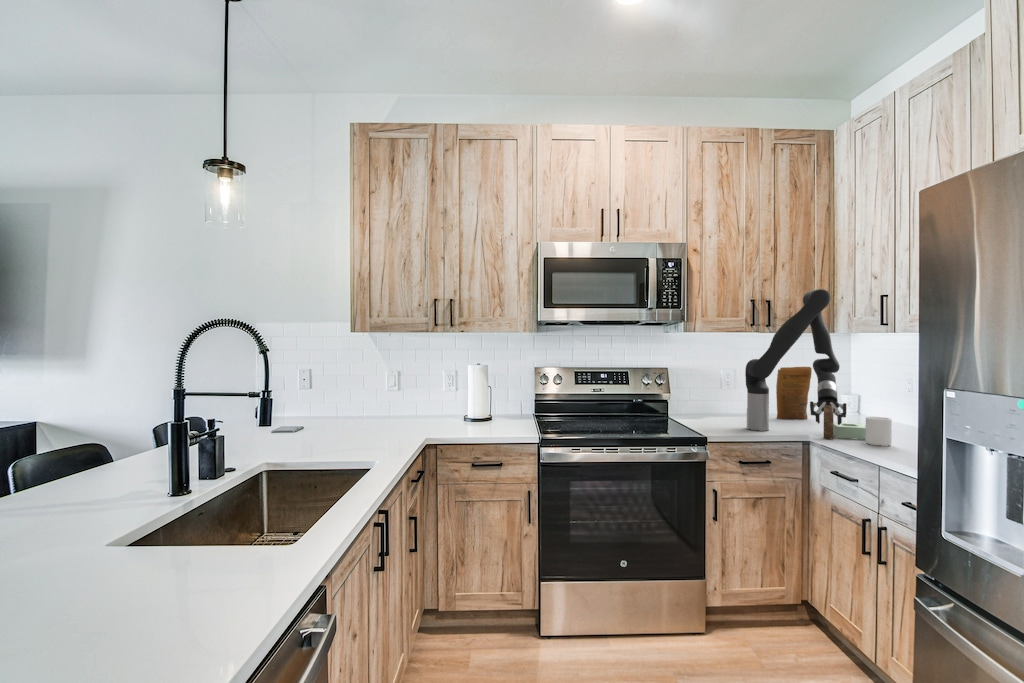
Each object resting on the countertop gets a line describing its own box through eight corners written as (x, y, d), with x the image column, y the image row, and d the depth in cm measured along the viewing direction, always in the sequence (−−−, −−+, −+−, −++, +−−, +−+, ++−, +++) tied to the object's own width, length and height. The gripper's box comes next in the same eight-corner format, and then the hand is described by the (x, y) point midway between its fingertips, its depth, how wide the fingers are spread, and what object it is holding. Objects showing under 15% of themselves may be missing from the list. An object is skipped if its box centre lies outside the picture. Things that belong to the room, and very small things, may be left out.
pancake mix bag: (814, 420, 271) (815, 367, 271) (778, 419, 272) (778, 366, 272) (808, 418, 278) (808, 366, 278) (772, 417, 279) (772, 366, 278)
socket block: (837, 438, 223) (837, 426, 223) (830, 433, 234) (830, 422, 234) (870, 439, 219) (870, 428, 219) (861, 434, 231) (861, 423, 231)
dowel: (824, 438, 221) (824, 406, 221) (822, 437, 225) (822, 405, 225) (834, 439, 220) (834, 406, 220) (832, 437, 224) (832, 405, 223)
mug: (877, 440, 218) (877, 415, 218) (896, 446, 206) (896, 419, 206) (856, 440, 219) (856, 415, 218) (873, 446, 207) (874, 419, 206)
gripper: (809, 386, 232) (809, 416, 222) (846, 388, 225) (849, 419, 215) (808, 397, 237) (809, 426, 227) (845, 399, 230) (848, 429, 220)
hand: (828, 422), depth 221 cm, fingers open, 7 cm apart
